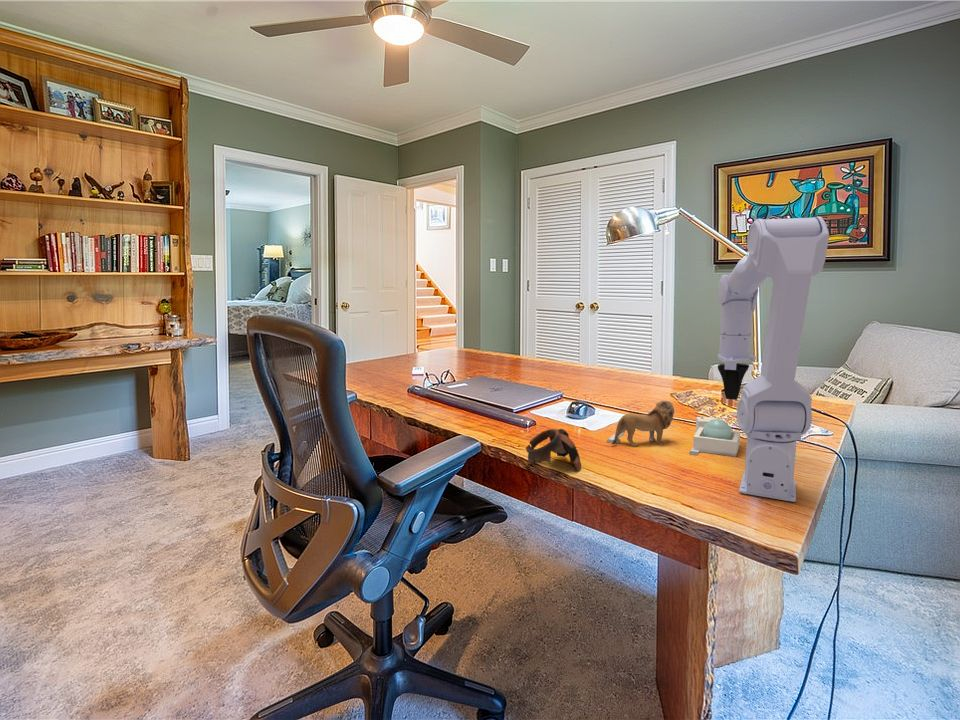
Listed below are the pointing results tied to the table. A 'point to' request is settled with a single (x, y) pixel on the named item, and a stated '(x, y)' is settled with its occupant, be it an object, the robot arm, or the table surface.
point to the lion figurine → (646, 423)
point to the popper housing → (716, 443)
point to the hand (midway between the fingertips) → (731, 398)
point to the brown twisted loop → (553, 447)
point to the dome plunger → (717, 429)
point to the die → (702, 421)
